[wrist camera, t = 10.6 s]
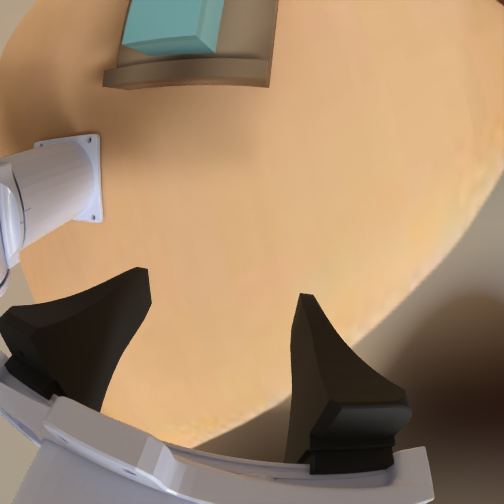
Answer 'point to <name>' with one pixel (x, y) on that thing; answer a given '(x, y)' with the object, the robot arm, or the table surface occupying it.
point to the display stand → (208, 65)
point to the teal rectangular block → (173, 26)
